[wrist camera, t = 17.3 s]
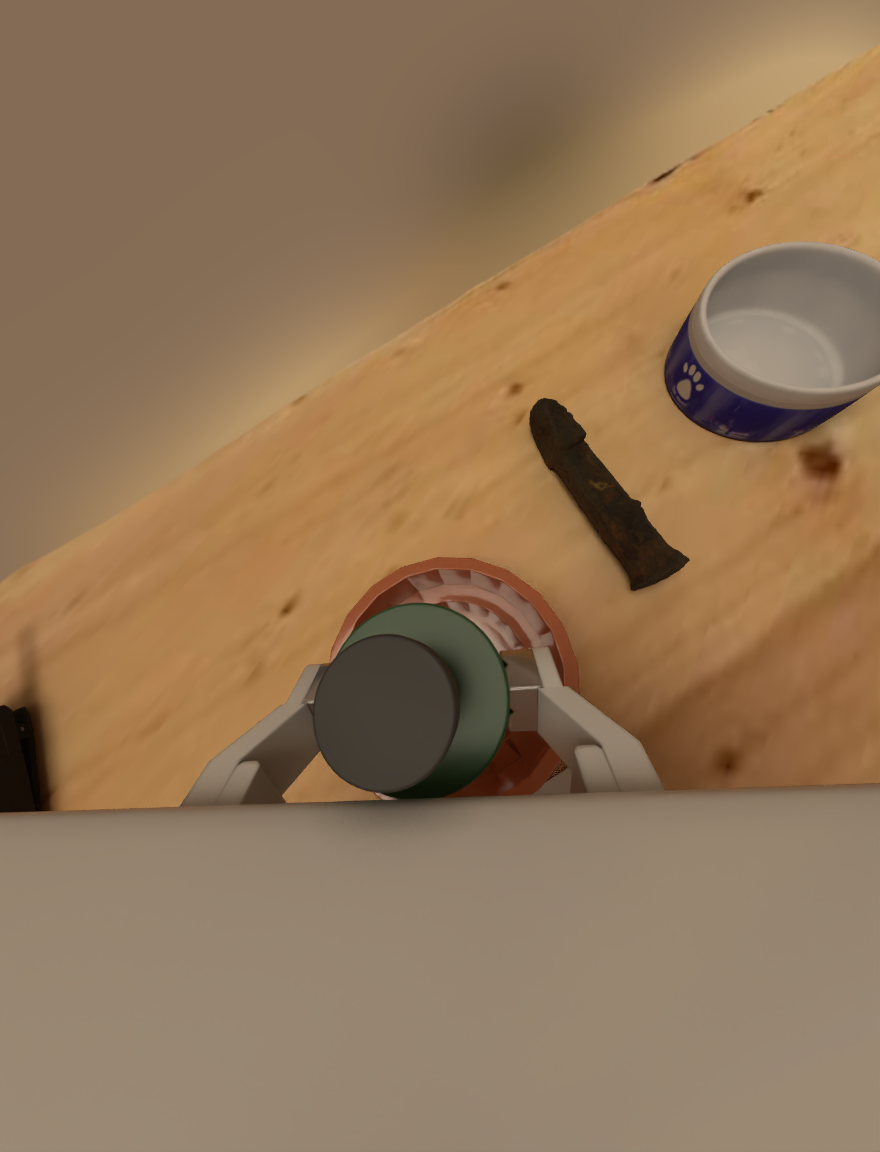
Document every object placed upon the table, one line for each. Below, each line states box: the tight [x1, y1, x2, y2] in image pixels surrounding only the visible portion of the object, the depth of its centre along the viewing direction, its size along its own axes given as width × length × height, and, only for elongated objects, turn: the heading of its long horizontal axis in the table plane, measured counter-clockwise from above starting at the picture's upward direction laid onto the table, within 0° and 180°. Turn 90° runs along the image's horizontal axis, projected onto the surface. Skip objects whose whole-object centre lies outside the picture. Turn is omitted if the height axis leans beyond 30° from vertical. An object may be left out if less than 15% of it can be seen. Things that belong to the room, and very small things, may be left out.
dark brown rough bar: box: [529, 398, 690, 591], centre depth 28 cm, size 19×4×5 cm, turn 25°
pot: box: [330, 557, 579, 800], centre depth 24 cm, size 15×15×9 cm
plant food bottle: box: [313, 602, 510, 799], centre depth 11 cm, size 5×5×12 cm
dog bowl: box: [665, 242, 880, 442], centre depth 29 cm, size 15×15×6 cm
